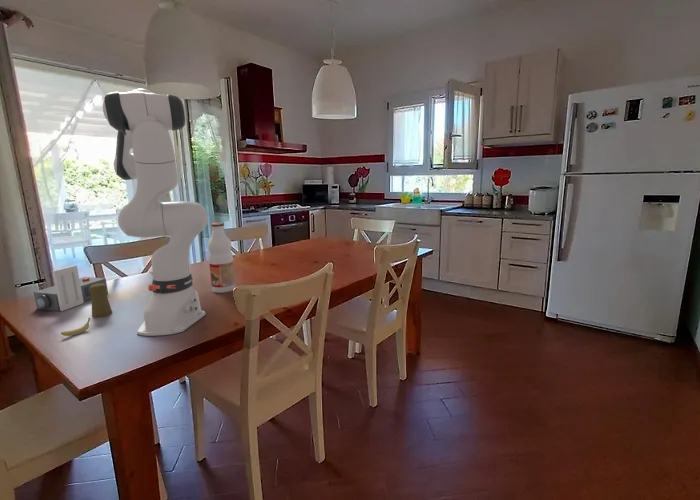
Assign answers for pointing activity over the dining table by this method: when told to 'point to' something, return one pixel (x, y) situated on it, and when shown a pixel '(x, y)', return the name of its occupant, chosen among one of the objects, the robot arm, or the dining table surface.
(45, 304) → the camera block
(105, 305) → the cork
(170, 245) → the robot arm
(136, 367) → the dining table surface
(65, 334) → the banana
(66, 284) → the cover
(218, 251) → the fruit juice
